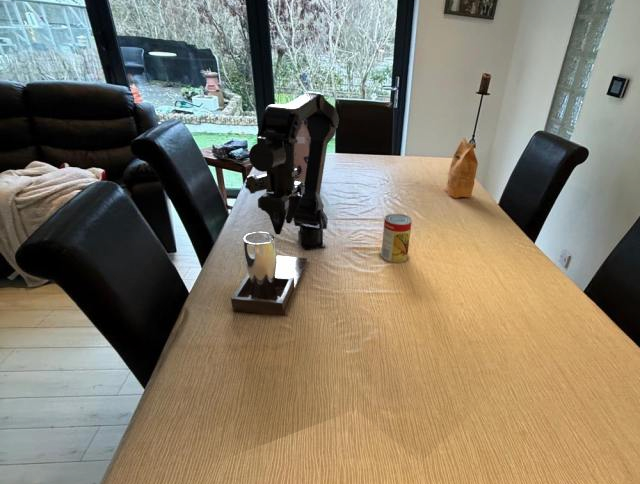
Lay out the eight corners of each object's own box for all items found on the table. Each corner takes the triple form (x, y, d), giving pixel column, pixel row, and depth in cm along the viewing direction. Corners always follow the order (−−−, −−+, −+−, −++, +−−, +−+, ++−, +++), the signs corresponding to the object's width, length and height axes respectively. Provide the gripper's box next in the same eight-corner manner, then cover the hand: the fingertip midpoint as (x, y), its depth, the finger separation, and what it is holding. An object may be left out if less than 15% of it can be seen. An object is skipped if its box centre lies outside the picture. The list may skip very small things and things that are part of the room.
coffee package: (463, 189, 185) (473, 137, 173) (473, 199, 175) (484, 145, 163) (442, 189, 183) (450, 136, 171) (451, 199, 173) (460, 144, 161)
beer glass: (285, 296, 99) (282, 238, 91) (261, 307, 94) (255, 247, 86) (267, 285, 103) (262, 228, 94) (243, 295, 98) (235, 237, 90)
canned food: (412, 257, 125) (417, 219, 119) (395, 265, 120) (399, 226, 114) (393, 248, 129) (397, 211, 123) (375, 255, 124) (378, 217, 118)
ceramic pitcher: (314, 189, 169) (313, 123, 155) (262, 185, 168) (256, 118, 154) (320, 176, 183) (320, 115, 170) (272, 172, 183) (268, 111, 169)
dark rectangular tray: (265, 259, 117) (264, 246, 115) (307, 262, 117) (307, 250, 115) (231, 313, 94) (229, 298, 92) (284, 318, 94) (283, 303, 92)
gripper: (262, 154, 106) (264, 214, 113) (233, 167, 90) (237, 236, 97) (305, 160, 106) (304, 219, 113) (283, 173, 89) (284, 242, 97)
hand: (283, 228), depth 105 cm, fingers open, 9 cm apart
